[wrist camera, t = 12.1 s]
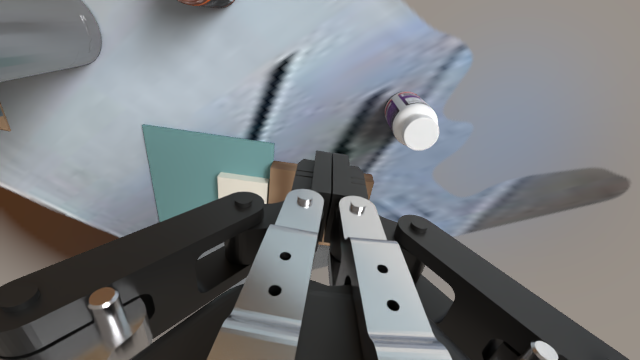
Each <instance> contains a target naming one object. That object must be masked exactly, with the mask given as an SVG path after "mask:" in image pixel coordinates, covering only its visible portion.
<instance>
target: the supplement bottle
mask: <svg viewBox="0 0 640 360" xmlns="http://www.w3.org/2000/svg"><path fill="white" fill-rule="evenodd" d="M177 1H179V2H181V3H184V4H187V5H193V6H203V7H214V8H222V7H226V6H229V5H230V4H232V3H233V2H234V1H235V0H177Z"/></svg>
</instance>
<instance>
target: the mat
mask: <svg viewBox="0 0 640 360" xmlns="http://www.w3.org/2000/svg"><path fill="white" fill-rule="evenodd" d="M142 128H143V133H144V139H145V144H146V150H147V155H148V161H149V166H150V172H151V177H152V183H153V188H154V194H155V199H156V205H157V210H158V216H159V221H160V222H162V221H164V220H167V219H169V218H172V217H174V216H177V215H179V214H182V213H184V212H187V211H189V210H192V209H194V208H197V207H199V206H202V205H204V204H207V203H209V202H212V201H214V200H217V199H218V180H217V177H218V175H219V174H220V172H224V173H232V174H239V175H246V176H253V177H261V178H268V179H270V168H271V165H272V163H273V159H274V143H268V142H262V141H255V140H248V139H241V138H234V137H227V136H220V135H213V134H206V133H199V132H192V131H185V130H178V129H172V128H165V127H158V126H151V125H144V124H143V125H142ZM269 184H270V181H269ZM268 201H269V199H268Z"/></svg>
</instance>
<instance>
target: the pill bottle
mask: <svg viewBox="0 0 640 360" xmlns="http://www.w3.org/2000/svg"><path fill="white" fill-rule="evenodd" d="M385 118H386V121H387V123H388V124H389V126H390V128H391V130H392V132H393V134H394V136H395V138H396V139H397V140H398V141H399V142H400V143H402V144H403V145H406V146H408V147H409V148H411V149H413V150H425V149H427V148H429V147H431V146H432V145H433V144H434V143H435V142H436V140H437V139H438V136H439V127H438V119H437V115H436V113H435V112H434V110H433V109H432V108H431V107H430V106H429V105H428V104H426V103H425V102H424V101H423V100H422V99H421V98H420V97H419V96H418V95H416V94H415V93H412V92H400V93H398V94H396V95H394V96H393V97H392V98H391V99H390V100H389V101H388V103H387V104H386V107H385Z"/></svg>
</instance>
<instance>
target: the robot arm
mask: <svg viewBox="0 0 640 360" xmlns="http://www.w3.org/2000/svg"><path fill="white" fill-rule="evenodd" d="M101 42H102V41H101V33H100V30H99V27H98V24H97V22H96V20H95V18H94V16H93V15H92V13H91V12H90V10H89V9H88V8H87V6H86V5H85V4H84V3H83V2H82V1H81V0H0V82H3V81H8V80H13V79H18V78H23V77H28V76H33V75H38V74H43V73H48V72H53V71H58V70H63V69H68V68H73V67H78V66H83V65H87V64H89V63H91V62H93V61H94V60H95V59H96V58H97V57H98V55H99V53H100V50H101ZM323 234H324V242H326V243H330V249H329V254H328V270H329V284H330V286H327V285H324V284H321V283H318V282H315V281H312V280H310V277H311V272H312V266H313V261H314V255H315V252H316V251H317V248H318V243H319V242H322V239H323ZM223 242H224V244H225V246H223V247H221V248H220V249H218V250H216V251H214V252H212V253H210V254H208V255H206V256H205V257H203V258H201V259H199V260H197V259H198V258H199V256H200V255H201V254H203V253H204V252H205V251H207V250H209V249H211V248H213V247H215V246H217V245H219V244H221V243H223ZM425 265H426V266H427V267H429V268H430V269H431V270H432V271H434V272H435V273H436V274H437V275H438V276H440V277H441V278H442V279H443V280H444V281H446V282H447V283H448V284H449V285H450V286H451V287H452V288H453V290H454V293H455V300H454V302H453V301H452V300H451V299H449V298H448V297H447V296H446V295H445V294H444V293H442V292H441V291H440V290H439V289H438V288H437V287H436V286H434V285H433V284H432V283H431V282H430V281H428V280H427V279H426V278H425V277H424V276H422V274H421V273H422V271H423V269H424V267H425ZM246 277H247V279H246V281H245V283H244V284H242V285H239V286H236V287H234V288H232V289H230V290H228V291H226V290H227V289H229V288H230V287H232V286H233V285H235V284H237V283H238V282H240V281H241V280H243V279H244V278H246ZM224 291H226V292H224ZM223 292H224V293H223ZM221 293H223V294H221ZM220 294H221V295H220ZM218 295H220V296H218ZM217 296H218V297H217ZM215 297H217V298H215ZM214 298H215V299H214ZM212 299H214V300H213V301H211V300H212ZM209 301H211V302H210V303H208V302H209ZM206 303H208V304H207V305H205V304H206ZM203 305H205V306H204V307H203V308H201V309H200V310H198V311H197V312H195V313H194V314H193V315H191V316H190V317H188V318H187V319H186V320H184V321H183V322H182V323H180V324H179V325H177V326H176V327H174V328H173V329H171V330H170V331H169V332H167V333H166V334H164V335H163V336H162V337H160V338H159V339H157V340H156V341H155V342H153V343H152V339H154V338H155V337H156V336H158V335H160V334H161V333H163V332H164V331H166V330H167V329H169V328H170V327H172V326H173V325H175V324H176V323H178V322H179V321H181V320H182V319H184V318H185V317H187V316H188V315H190V314H191V313H193V312H194V311H196V310H197V309H199V308H200V307H201V306H203ZM151 343H152V344H151ZM0 360H629V359H628V358H626V357H625V356H623V355H622V354H621V353H619V352H618V351H616V350H615V349H613V348H612V347H610V346H609V345H607V344H606V343H604V342H603V341H602V340H600V339H599V338H597V337H596V336H594V335H593V334H592V333H590V332H589V331H587V330H586V329H584V328H583V327H582V326H580V325H579V324H577V323H575V322H574V321H573V320H571V319H570V318H568V317H567V316H566V315H564V314H563V313H561V312H560V311H558V310H557V309H556V308H554V307H553V306H551V305H550V304H548V303H547V302H545V301H544V300H543V299H541V298H540V297H538V296H537V295H535V294H534V293H532V292H531V291H529V290H528V289H527V288H525V287H524V286H522V285H521V284H519V283H518V282H517V281H515V280H513V279H512V278H511V277H509V276H508V275H506V274H505V273H504V272H502V271H501V270H499V269H498V268H496V267H495V266H493V265H492V264H491V263H489V262H488V261H486V260H485V259H483V258H482V257H480V256H479V255H477V254H476V253H475V252H473V251H472V250H470V249H469V248H467V247H466V246H465V245H463V244H461V243H460V242H459V241H457V240H456V239H454V238H453V237H452V236H450V235H449V234H447V233H446V232H444V231H443V230H441V229H440V228H439V227H437V226H436V225H434V224H433V223H431V222H430V221H428V220H427V219H425V218H422V217H419V216H415V215H404V216H402V217H401V218H399V220H398V223H397V222H394V221H391V220H388V219H386V218H383V217H381V216H380V215H378V212H377V209H376V207H375V205H374V204H373V203H372V202H370V201H369V199H368V194H367V188H366V183H365V178H364V173H363V172H362V171H361V170H360V168H359V167H355V166H349V156H348V155H344V154H337V153H333V154H332V153H330V152H323V151H316V156H315V161H313V160H306V159H303V160H302V161H300V162H299V163H298V165H297V169H296V173H295V177H294V181H293V186H292V190H291V192H289V193H288V194H287V196H286V198H285V200H284V201H281V202H278V203H271V204H264V200H263V198H262V197H261V196H259V195H258V194H255V193H252V192H236V193H232V194H230V195H227V196H225V197H222V198H220V199H217V200H214V201H212V202H209V203H207V204H204V205H202V206H199V207H197V208H194V209H192V210H189V211H187V212H184V213H182V214H179V215H177V216H174V217H172V218H169V219H167V220H164V221H162V222H159V223H157V224H154V225H152V226H149V227H147V228H144V229H142V230H139V231H137V232H134V233H132V234H129V235H126V236H124V237H121V238H119V239H116V240H114V241H112V242H109V243H106V244H104V245H101V246H99V247H96V248H94V249H91V250H89V251H87V252H84V253H81V254H79V255H76V256H74V257H71V258H69V259H66V260H64V261H61V262H59V263H56V264H54V265H51V266H49V267H46V268H43V269H41V270H39V271H36V272H33V273H31V274H28V275H26V276H23V277H21V278H19V279H16V280H13V281H11V282H9V283H7V284H5V285H3V286H1V287H0Z"/></svg>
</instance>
